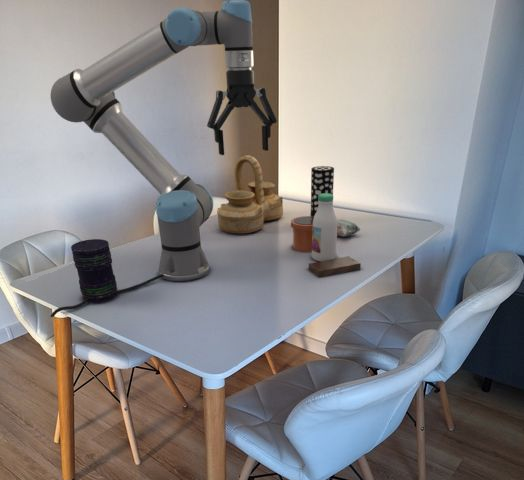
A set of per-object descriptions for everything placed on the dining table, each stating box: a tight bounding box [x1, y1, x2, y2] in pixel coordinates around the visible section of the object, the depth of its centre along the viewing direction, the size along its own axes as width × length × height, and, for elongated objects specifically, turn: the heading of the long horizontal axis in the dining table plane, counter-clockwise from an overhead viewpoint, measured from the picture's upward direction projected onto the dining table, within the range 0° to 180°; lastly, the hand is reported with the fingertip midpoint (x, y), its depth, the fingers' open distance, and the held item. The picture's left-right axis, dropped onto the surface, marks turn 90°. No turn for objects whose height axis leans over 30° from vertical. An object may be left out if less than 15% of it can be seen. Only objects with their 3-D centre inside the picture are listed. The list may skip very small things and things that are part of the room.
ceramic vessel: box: [216, 155, 284, 234], centre depth 194 cm, size 34×18×25 cm, turn 154°
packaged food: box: [337, 219, 361, 238], centre depth 183 cm, size 9×12×5 cm
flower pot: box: [290, 215, 314, 253], centre depth 172 cm, size 11×11×9 cm
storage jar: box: [70, 238, 119, 305], centre depth 140 cm, size 10×10×15 cm
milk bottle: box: [311, 193, 338, 262], centre depth 159 cm, size 8×8×20 cm
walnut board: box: [308, 255, 362, 278], centre depth 155 cm, size 14×7×2 cm, turn 112°
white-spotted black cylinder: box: [310, 165, 335, 216], centre depth 194 cm, size 8×8×20 cm
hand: (243, 152), depth 149 cm, fingers open, 13 cm apart
